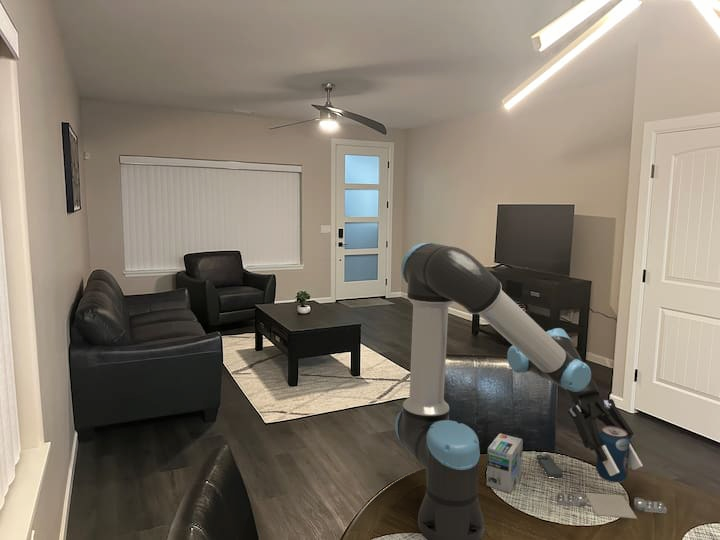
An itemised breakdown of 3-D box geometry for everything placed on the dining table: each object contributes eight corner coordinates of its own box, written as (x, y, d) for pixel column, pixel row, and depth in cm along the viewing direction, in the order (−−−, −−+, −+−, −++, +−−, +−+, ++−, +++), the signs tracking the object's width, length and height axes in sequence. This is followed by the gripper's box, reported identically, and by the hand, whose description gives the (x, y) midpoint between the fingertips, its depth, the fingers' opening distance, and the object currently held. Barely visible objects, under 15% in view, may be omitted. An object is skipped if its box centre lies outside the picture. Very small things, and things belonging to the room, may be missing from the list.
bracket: (548, 479, 139) (548, 473, 138) (535, 460, 149) (536, 454, 149) (562, 480, 138) (563, 473, 138) (549, 460, 149) (549, 454, 148)
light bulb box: (510, 494, 131) (512, 454, 130) (485, 486, 135) (486, 447, 133) (521, 475, 140) (523, 438, 139) (497, 468, 144) (499, 432, 142)
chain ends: (561, 512, 123) (562, 504, 123) (553, 491, 132) (553, 483, 132) (672, 521, 120) (673, 513, 120) (655, 499, 129) (656, 491, 129)
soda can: (631, 485, 122) (635, 438, 120) (600, 483, 123) (604, 436, 121) (621, 470, 129) (624, 425, 127) (592, 468, 130) (595, 423, 128)
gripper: (597, 384, 141) (645, 467, 128) (541, 394, 133) (585, 484, 121) (615, 372, 135) (666, 457, 122) (556, 382, 128) (605, 474, 115)
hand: (626, 470), depth 122 cm, fingers closed on soda can, 7 cm apart
